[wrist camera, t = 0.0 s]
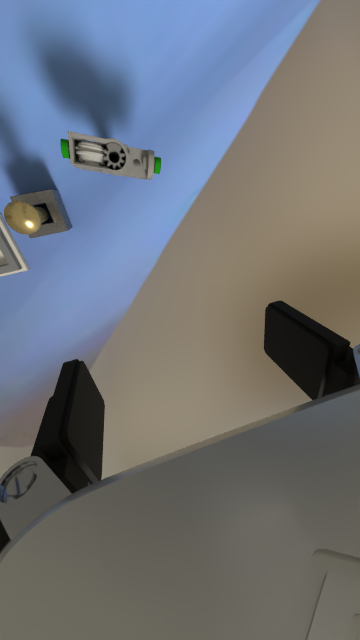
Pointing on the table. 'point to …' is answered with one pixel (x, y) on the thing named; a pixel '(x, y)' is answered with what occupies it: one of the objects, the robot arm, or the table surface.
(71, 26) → the table surface
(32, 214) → the brass dome knob
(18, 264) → the tray
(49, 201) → the pin mount
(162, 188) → the table surface
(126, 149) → the mechanical component
